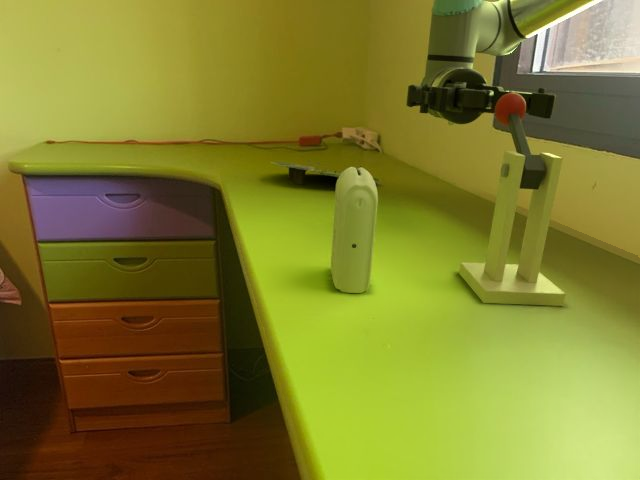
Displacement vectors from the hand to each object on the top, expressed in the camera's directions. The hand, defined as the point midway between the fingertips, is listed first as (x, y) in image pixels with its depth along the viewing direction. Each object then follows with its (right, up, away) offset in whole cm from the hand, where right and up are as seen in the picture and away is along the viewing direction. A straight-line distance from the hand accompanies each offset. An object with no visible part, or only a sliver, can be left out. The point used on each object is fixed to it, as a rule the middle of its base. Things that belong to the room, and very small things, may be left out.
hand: (496, 103), depth 86 cm
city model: (-21, +10, +58) cm, 62 cm away
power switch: (0, -24, -6) cm, 25 cm away
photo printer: (-19, -24, -6) cm, 31 cm away
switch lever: (0, -9, -7) cm, 11 cm away
